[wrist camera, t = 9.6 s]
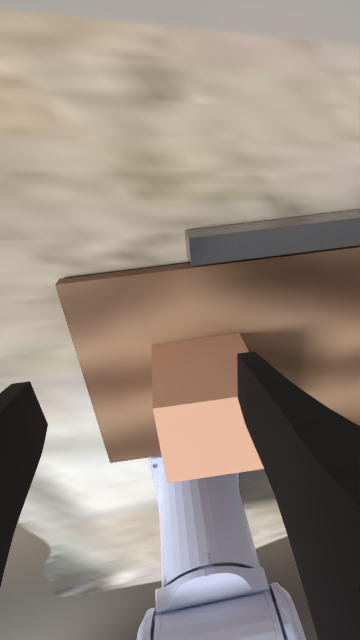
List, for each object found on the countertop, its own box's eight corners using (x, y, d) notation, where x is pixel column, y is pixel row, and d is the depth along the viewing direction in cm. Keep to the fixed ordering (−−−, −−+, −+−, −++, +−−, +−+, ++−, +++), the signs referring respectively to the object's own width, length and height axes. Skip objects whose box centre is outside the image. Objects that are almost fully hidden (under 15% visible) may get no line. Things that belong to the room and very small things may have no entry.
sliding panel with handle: (381, 414, 28) (435, 475, 22) (111, 452, 27) (102, 525, 22) (432, 232, 20) (534, 260, 15) (59, 278, 19) (26, 326, 14)
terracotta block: (239, 399, 24) (265, 468, 19) (162, 410, 24) (166, 483, 19) (239, 332, 21) (269, 392, 16) (151, 344, 21) (152, 408, 16)
